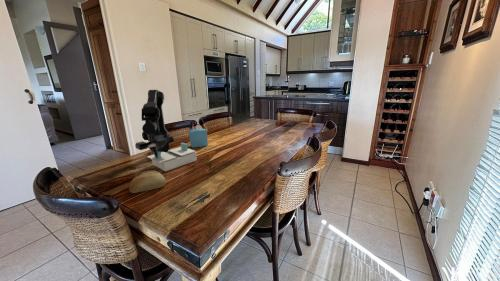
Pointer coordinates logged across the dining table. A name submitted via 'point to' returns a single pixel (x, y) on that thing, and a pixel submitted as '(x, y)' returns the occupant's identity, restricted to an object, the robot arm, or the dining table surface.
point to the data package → (198, 138)
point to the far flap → (182, 150)
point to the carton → (175, 161)
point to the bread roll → (147, 181)
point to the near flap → (161, 157)
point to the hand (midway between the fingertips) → (157, 157)
